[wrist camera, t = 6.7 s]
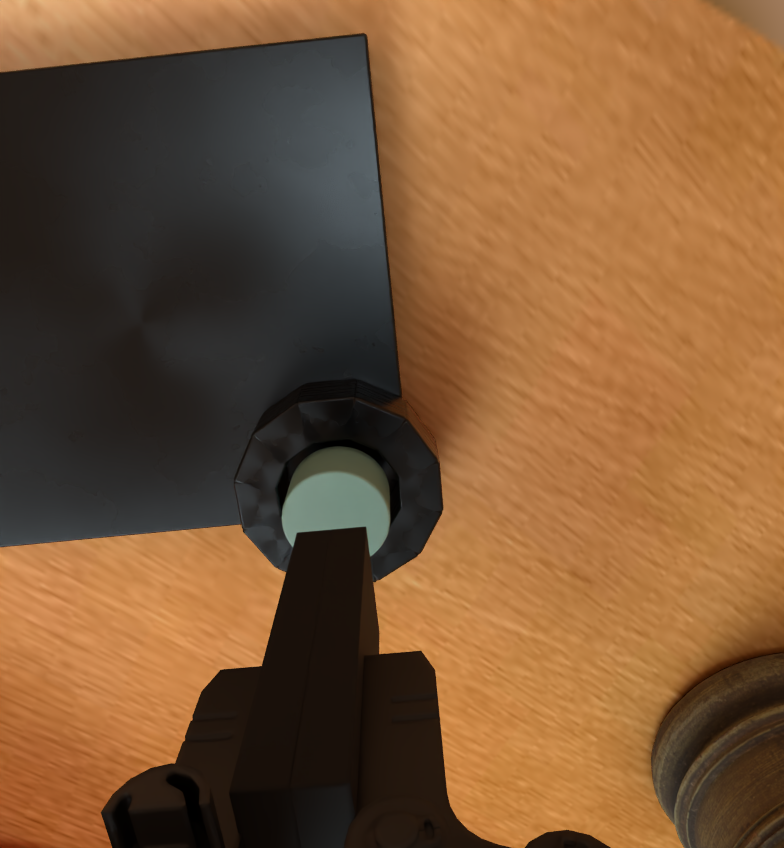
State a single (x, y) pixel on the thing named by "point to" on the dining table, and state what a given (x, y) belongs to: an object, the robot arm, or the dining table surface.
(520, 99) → the dining table surface
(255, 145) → the scale
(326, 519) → the button
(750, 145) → the dining table surface
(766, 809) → the container
